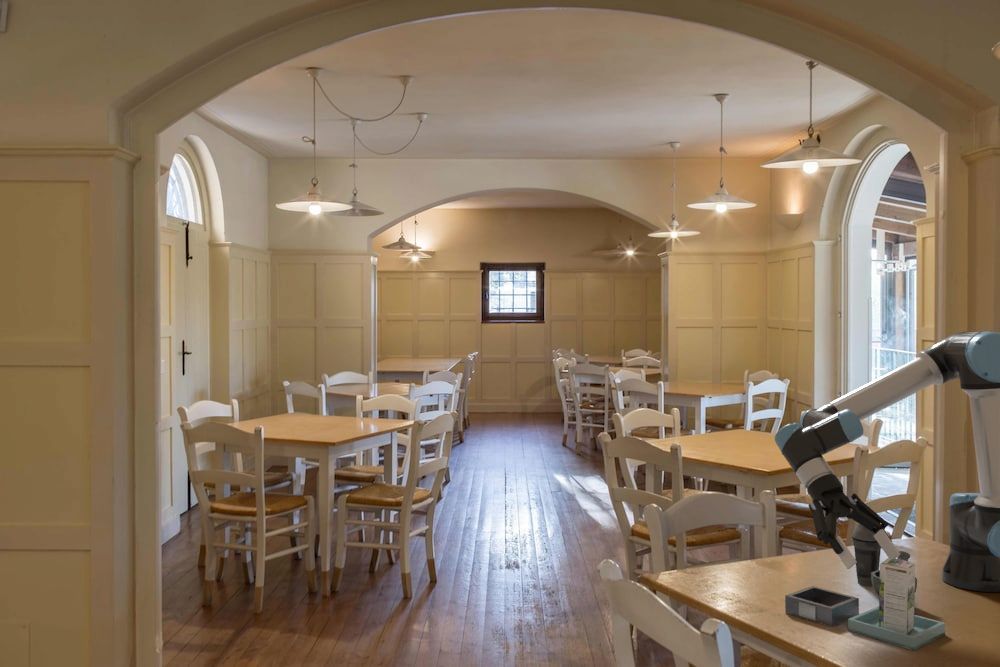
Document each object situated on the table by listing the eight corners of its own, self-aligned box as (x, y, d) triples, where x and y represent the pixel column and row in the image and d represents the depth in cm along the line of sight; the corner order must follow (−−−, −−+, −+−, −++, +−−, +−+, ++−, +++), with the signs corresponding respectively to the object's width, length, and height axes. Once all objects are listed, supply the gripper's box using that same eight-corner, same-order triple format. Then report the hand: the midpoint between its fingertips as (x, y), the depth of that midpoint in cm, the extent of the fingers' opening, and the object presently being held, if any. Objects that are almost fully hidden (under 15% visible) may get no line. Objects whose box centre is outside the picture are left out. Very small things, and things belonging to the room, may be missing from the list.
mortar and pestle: (903, 614, 186) (903, 562, 186) (863, 604, 193) (863, 553, 193) (926, 604, 193) (926, 553, 193) (887, 594, 200) (887, 545, 200)
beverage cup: (877, 579, 212) (877, 502, 212) (887, 588, 205) (887, 508, 205) (848, 579, 213) (847, 502, 213) (857, 587, 206) (857, 508, 206)
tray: (880, 616, 185) (880, 605, 185) (945, 634, 174) (945, 622, 174) (847, 630, 176) (848, 619, 176) (913, 650, 165) (913, 638, 165)
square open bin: (813, 602, 195) (813, 585, 195) (859, 615, 186) (859, 597, 186) (784, 613, 187) (784, 595, 187) (830, 627, 178) (830, 609, 178)
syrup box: (886, 622, 179) (886, 556, 179) (915, 629, 175) (915, 561, 175) (878, 630, 175) (878, 562, 175) (908, 636, 171) (908, 567, 171)
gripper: (848, 486, 201) (902, 563, 187) (772, 496, 190) (823, 578, 176) (867, 468, 196) (923, 545, 182) (789, 477, 185) (843, 560, 172)
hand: (874, 561), depth 179 cm, fingers open, 13 cm apart
